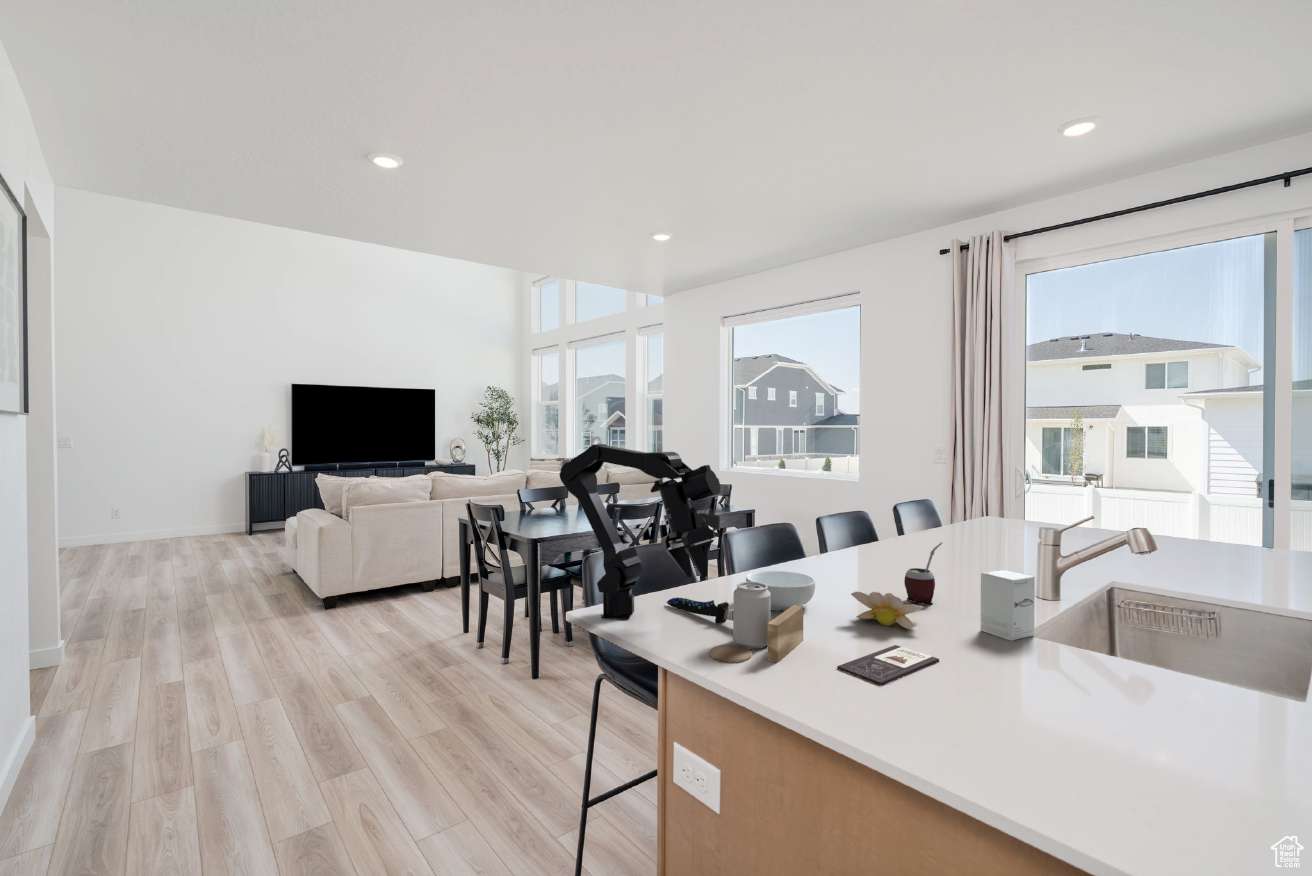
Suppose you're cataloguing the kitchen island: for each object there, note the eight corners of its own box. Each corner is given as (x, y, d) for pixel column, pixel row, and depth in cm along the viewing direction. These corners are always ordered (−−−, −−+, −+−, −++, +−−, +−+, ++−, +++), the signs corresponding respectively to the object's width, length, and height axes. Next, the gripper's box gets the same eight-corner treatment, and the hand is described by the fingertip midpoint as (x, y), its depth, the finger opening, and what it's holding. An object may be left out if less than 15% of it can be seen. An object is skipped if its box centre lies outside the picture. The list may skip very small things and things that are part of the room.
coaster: (708, 661, 112) (708, 658, 112) (711, 646, 120) (710, 643, 120) (751, 663, 111) (751, 661, 111) (751, 648, 119) (751, 645, 119)
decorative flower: (937, 615, 133) (930, 573, 132) (922, 640, 125) (915, 596, 124) (871, 607, 143) (864, 568, 142) (853, 630, 135) (845, 589, 133)
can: (773, 639, 124) (773, 581, 123) (766, 652, 117) (767, 591, 116) (737, 635, 126) (738, 578, 126) (729, 647, 119) (729, 587, 119)
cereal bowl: (823, 616, 139) (823, 586, 139) (751, 616, 139) (751, 586, 139) (805, 596, 156) (805, 569, 156) (741, 596, 156) (741, 569, 156)
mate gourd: (899, 602, 150) (899, 542, 150) (913, 596, 155) (913, 538, 155) (929, 608, 144) (929, 546, 144) (943, 602, 150) (943, 542, 149)
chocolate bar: (837, 666, 108) (895, 644, 119) (837, 671, 108) (895, 649, 119) (881, 682, 101) (939, 658, 111) (881, 688, 101) (939, 663, 111)
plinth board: (767, 660, 112) (767, 623, 112) (793, 638, 124) (793, 604, 124) (777, 662, 111) (777, 625, 111) (803, 640, 123) (803, 606, 123)
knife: (766, 629, 126) (764, 608, 126) (756, 632, 124) (754, 610, 124) (675, 611, 150) (674, 593, 150) (666, 613, 148) (665, 595, 149)
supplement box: (1012, 641, 122) (1012, 579, 121) (979, 630, 128) (979, 572, 128) (1035, 636, 125) (1036, 576, 124) (1002, 625, 131) (1002, 568, 131)
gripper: (726, 492, 126) (748, 565, 124) (695, 503, 143) (713, 567, 141) (678, 505, 122) (700, 580, 120) (652, 514, 139) (670, 580, 137)
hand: (697, 576), depth 130 cm, fingers open, 9 cm apart
